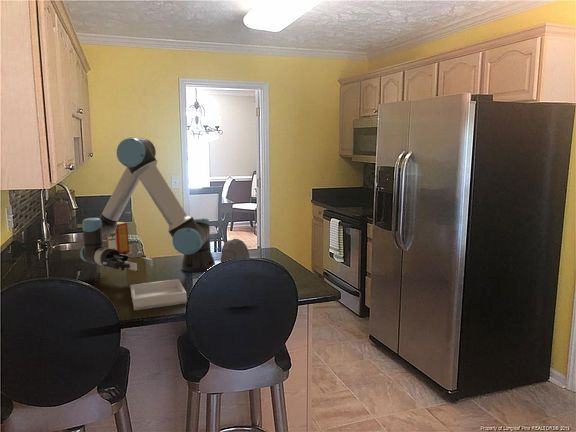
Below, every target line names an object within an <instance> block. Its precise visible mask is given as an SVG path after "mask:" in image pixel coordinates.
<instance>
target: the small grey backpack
mask: <svg viewBox="0 0 576 432" xmlns="http://www.w3.org/2000/svg"><path fill="white" fill-rule="evenodd" d="M236 258H249V259H250V252H249V248H248V247H247V245H246V244H245V243H244V241H243V240H241V239H239V238H233V239H230V240H227V241H226V242H224V243H223V245H222V248H221V255H220V263H221V262H224V261H227V260H230V259H236Z"/></svg>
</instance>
